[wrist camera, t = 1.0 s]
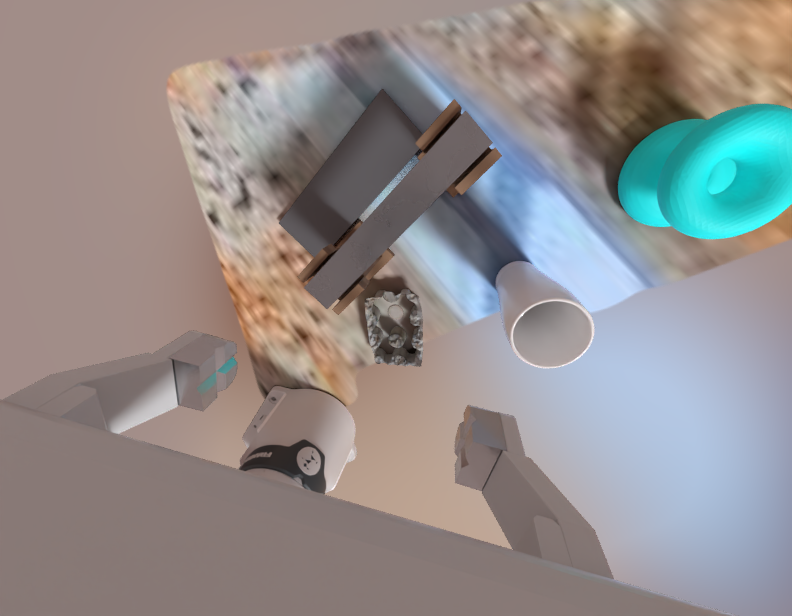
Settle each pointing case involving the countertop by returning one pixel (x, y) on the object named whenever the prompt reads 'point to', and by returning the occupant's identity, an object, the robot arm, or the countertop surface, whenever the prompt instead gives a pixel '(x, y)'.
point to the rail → (400, 208)
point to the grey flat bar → (353, 175)
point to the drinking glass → (541, 317)
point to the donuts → (712, 173)
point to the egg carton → (395, 330)
